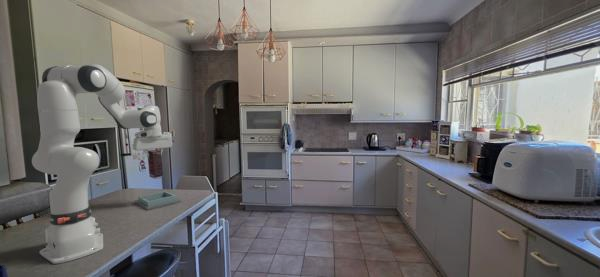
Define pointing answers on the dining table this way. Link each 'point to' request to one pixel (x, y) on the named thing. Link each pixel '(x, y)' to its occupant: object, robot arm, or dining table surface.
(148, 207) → the tray
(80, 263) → the dining table surface
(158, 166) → the supplement box
